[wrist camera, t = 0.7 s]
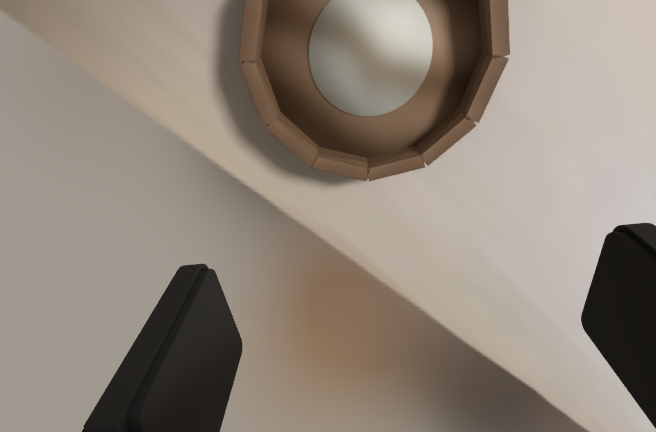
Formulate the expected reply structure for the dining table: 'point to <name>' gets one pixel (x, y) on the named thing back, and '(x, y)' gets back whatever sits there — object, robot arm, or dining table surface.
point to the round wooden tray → (372, 77)
